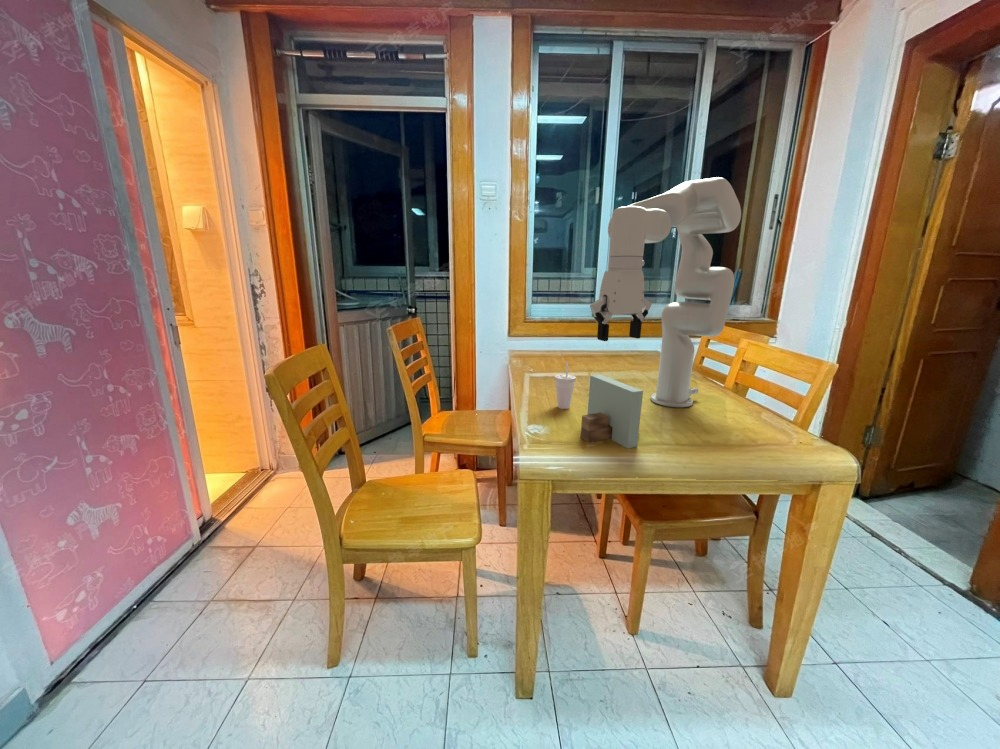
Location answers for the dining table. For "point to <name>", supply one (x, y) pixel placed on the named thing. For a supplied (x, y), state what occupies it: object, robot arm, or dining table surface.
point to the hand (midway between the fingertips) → (618, 338)
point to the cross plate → (617, 407)
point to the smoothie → (564, 389)
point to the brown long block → (595, 427)
